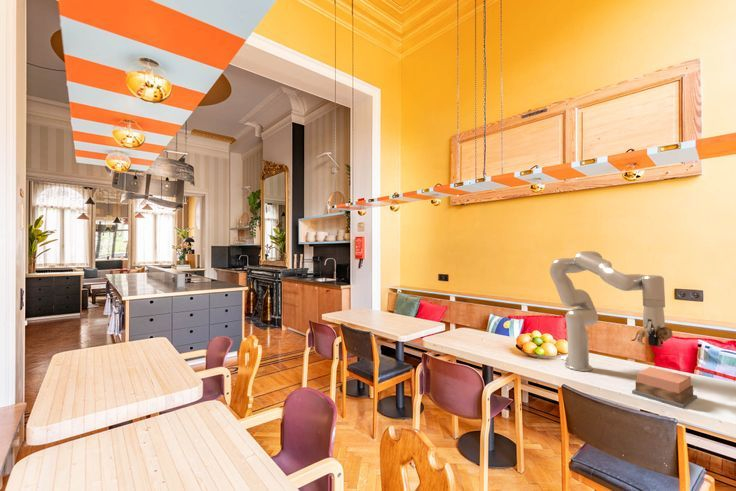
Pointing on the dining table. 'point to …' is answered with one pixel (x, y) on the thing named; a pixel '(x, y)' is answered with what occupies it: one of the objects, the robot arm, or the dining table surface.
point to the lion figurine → (662, 335)
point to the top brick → (664, 379)
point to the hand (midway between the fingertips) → (655, 344)
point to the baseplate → (667, 400)
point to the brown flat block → (665, 393)
